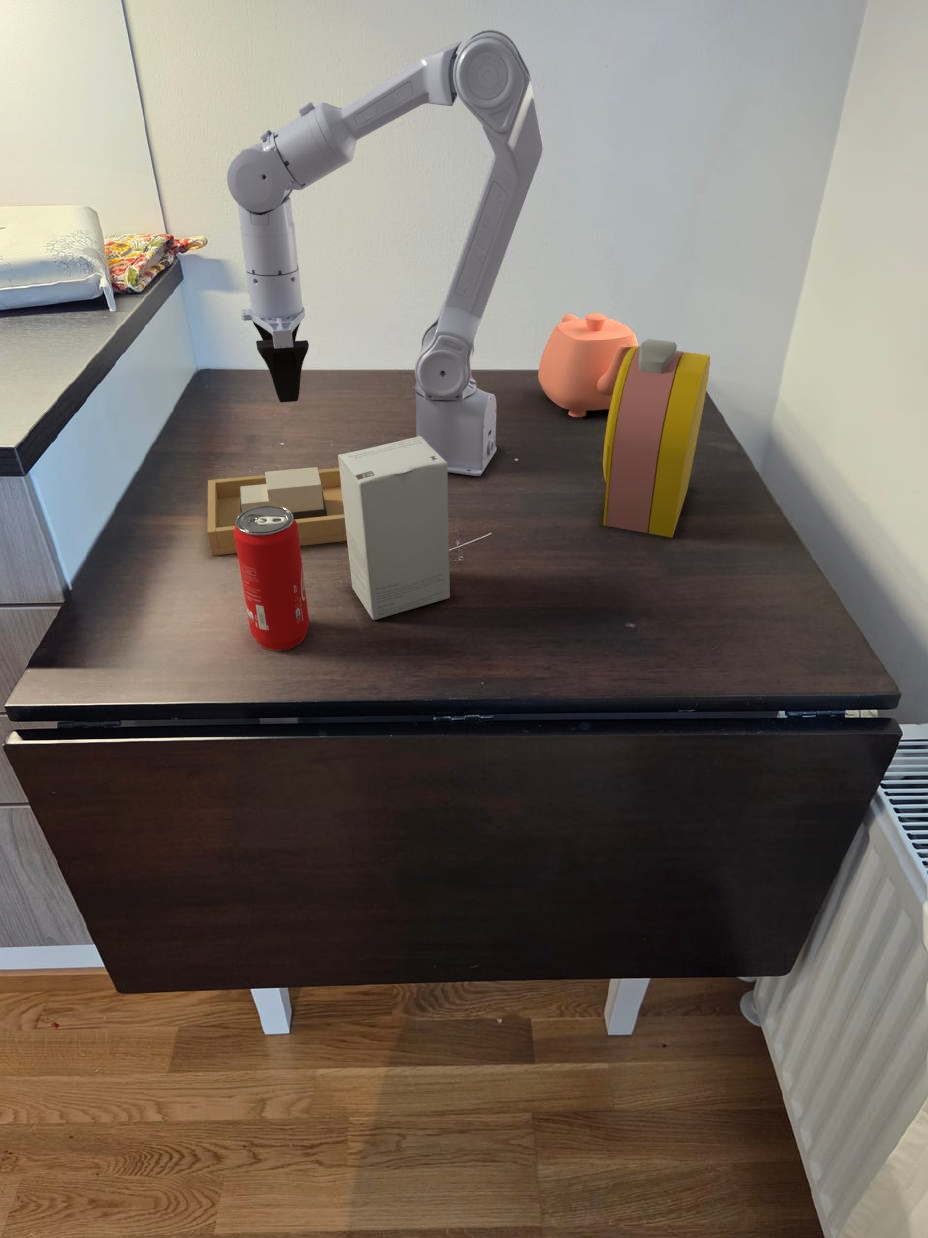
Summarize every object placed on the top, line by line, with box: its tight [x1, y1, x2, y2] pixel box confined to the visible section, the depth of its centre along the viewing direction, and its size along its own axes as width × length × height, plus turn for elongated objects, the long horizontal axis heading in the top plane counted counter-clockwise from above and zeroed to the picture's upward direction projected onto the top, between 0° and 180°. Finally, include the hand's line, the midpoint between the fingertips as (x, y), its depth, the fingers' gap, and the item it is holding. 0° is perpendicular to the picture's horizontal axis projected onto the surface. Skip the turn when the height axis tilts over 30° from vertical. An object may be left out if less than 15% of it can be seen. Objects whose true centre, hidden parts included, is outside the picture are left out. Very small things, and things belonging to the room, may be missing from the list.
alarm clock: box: [602, 338, 711, 538], centre depth 93 cm, size 15×8×18 cm, turn 160°
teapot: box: [537, 312, 639, 418], centre depth 118 cm, size 13×20×12 cm, turn 18°
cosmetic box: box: [337, 436, 451, 621], centre depth 79 cm, size 8×6×15 cm
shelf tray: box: [207, 467, 347, 557], centre depth 94 cm, size 16×12×3 cm
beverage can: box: [234, 506, 310, 652], centre depth 75 cm, size 5×5×12 cm
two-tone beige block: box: [240, 466, 327, 520], centre depth 93 cm, size 9×5×4 cm, turn 103°
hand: (286, 388), depth 104 cm, fingers open, 7 cm apart
